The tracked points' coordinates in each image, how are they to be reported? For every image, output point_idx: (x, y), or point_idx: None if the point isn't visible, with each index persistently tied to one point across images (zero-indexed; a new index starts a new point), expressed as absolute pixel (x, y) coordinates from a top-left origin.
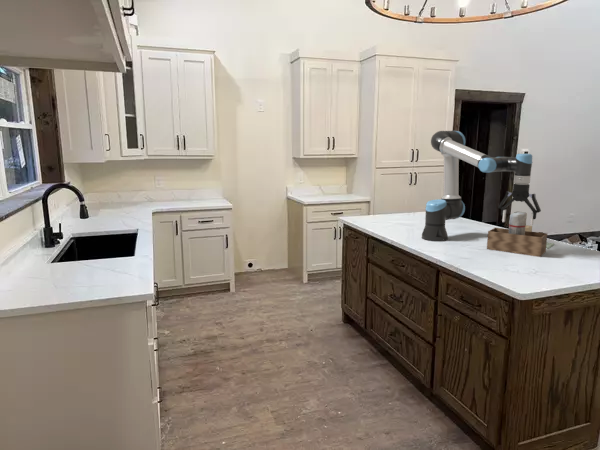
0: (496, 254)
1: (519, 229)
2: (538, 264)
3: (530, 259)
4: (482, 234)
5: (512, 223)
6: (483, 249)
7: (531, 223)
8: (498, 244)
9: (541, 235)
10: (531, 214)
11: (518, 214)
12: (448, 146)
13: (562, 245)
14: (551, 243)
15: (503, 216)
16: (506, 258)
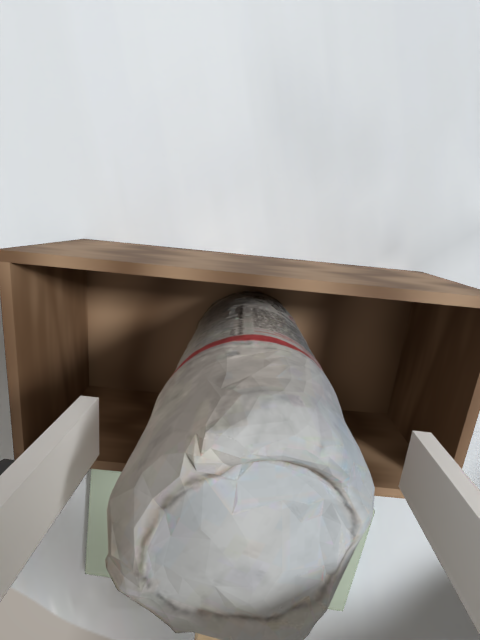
0: (343, 146)
1: (212, 336)
2: (44, 6)
3: (119, 131)
4: (474, 626)
5: (297, 355)
6: (441, 249)
7: (72, 410)
8: (359, 270)
9: None
10: (1, 503)
11: (225, 438)
12: None
13: (49, 569)
14: (97, 568)
15: (464, 485)
16: (264, 59)
